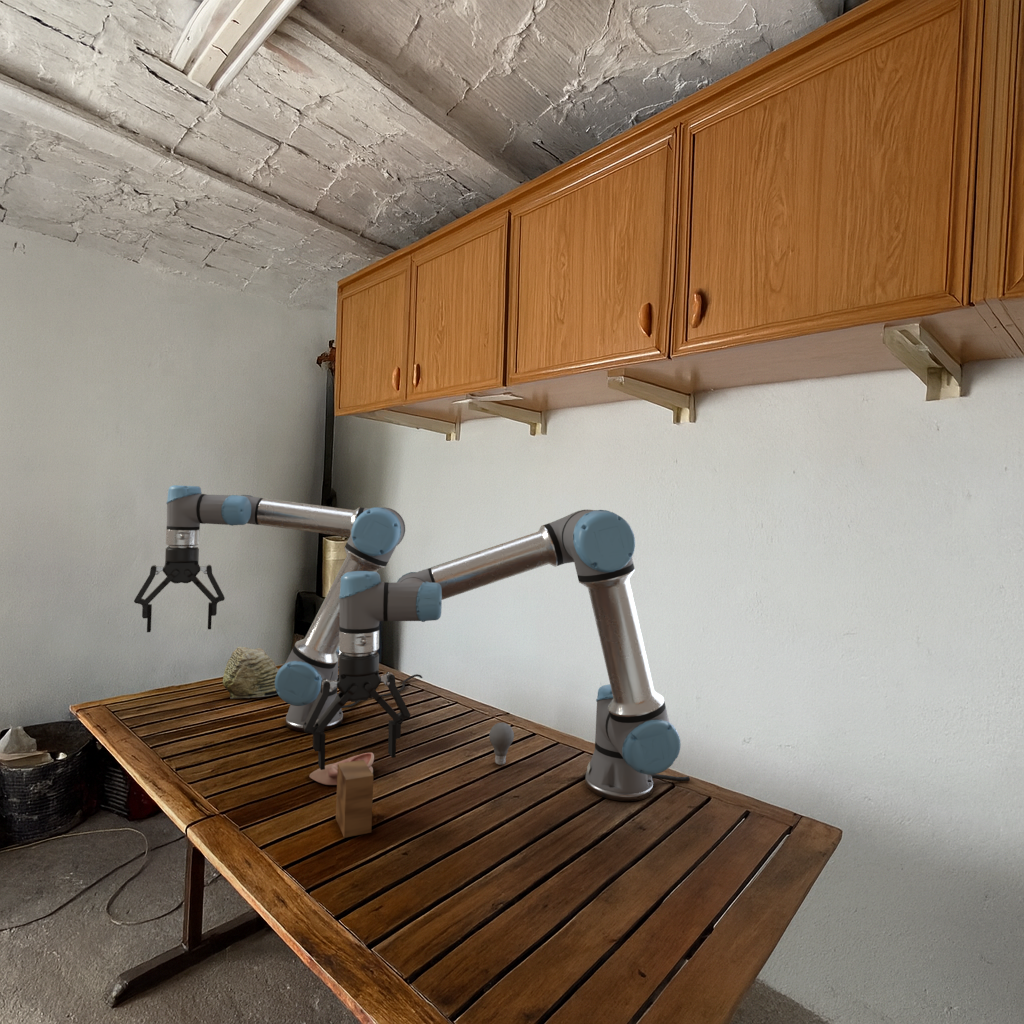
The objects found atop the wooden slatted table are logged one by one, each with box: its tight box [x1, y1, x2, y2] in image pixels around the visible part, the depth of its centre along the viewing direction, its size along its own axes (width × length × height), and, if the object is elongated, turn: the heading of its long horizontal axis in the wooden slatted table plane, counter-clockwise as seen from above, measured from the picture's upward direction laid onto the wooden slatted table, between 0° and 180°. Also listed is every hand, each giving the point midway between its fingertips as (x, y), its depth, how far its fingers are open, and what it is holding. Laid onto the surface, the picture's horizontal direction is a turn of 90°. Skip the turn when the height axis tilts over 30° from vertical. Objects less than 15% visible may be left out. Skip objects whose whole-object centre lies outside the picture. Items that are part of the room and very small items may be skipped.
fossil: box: [222, 646, 280, 699], centre depth 198 cm, size 9×18×15 cm, turn 132°
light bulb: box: [488, 722, 515, 766], centre depth 154 cm, size 6×6×10 cm
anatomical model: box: [308, 751, 375, 786], centre depth 144 cm, size 13×4×12 cm
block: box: [335, 760, 374, 839], centre depth 123 cm, size 8×5×11 cm
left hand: (179, 629), depth 161 cm, fingers open, 13 cm apart
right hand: (357, 761), depth 123 cm, fingers open, 13 cm apart
